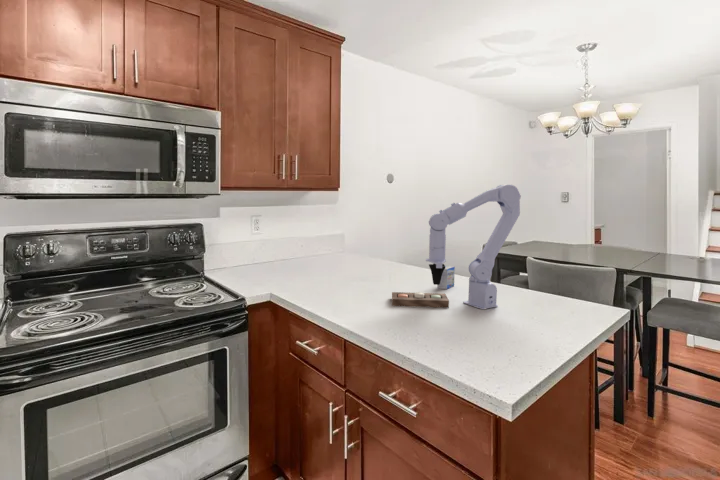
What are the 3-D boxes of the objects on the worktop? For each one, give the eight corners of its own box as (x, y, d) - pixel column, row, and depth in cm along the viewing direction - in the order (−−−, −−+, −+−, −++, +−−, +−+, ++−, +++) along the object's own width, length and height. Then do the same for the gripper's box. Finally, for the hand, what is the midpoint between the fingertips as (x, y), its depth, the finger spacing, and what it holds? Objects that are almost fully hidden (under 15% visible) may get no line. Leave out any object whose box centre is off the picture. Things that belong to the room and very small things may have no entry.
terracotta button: (407, 300, 147) (407, 294, 146) (407, 303, 143) (408, 296, 143) (397, 300, 147) (397, 293, 147) (397, 302, 143) (398, 296, 143)
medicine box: (446, 289, 165) (447, 269, 164) (436, 288, 167) (437, 268, 166) (454, 286, 171) (455, 266, 170) (444, 284, 174) (445, 265, 173)
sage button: (440, 301, 146) (440, 294, 145) (441, 304, 142) (441, 297, 142) (430, 301, 146) (430, 294, 146) (431, 303, 142) (431, 297, 142)
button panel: (445, 300, 149) (445, 293, 148) (448, 307, 139) (448, 300, 138) (391, 298, 150) (392, 292, 150) (391, 306, 140) (391, 299, 140)
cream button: (423, 299, 146) (424, 292, 146) (424, 301, 142) (424, 294, 142) (414, 298, 146) (414, 292, 146) (414, 301, 143) (414, 294, 142)
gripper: (424, 244, 149) (423, 279, 151) (427, 249, 135) (427, 288, 136) (443, 244, 148) (442, 280, 150) (448, 250, 134) (447, 289, 136)
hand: (436, 284), depth 143 cm, fingers closed
